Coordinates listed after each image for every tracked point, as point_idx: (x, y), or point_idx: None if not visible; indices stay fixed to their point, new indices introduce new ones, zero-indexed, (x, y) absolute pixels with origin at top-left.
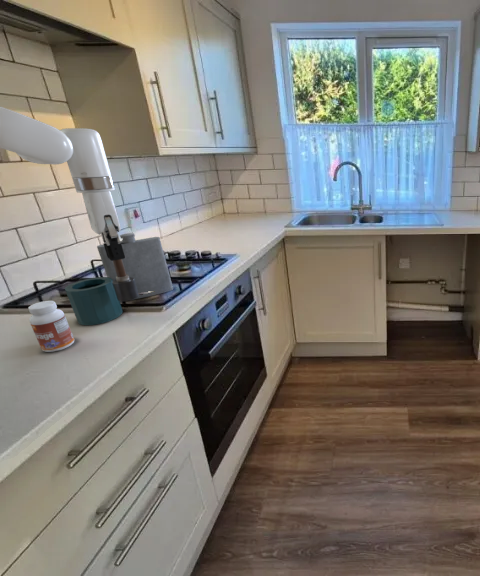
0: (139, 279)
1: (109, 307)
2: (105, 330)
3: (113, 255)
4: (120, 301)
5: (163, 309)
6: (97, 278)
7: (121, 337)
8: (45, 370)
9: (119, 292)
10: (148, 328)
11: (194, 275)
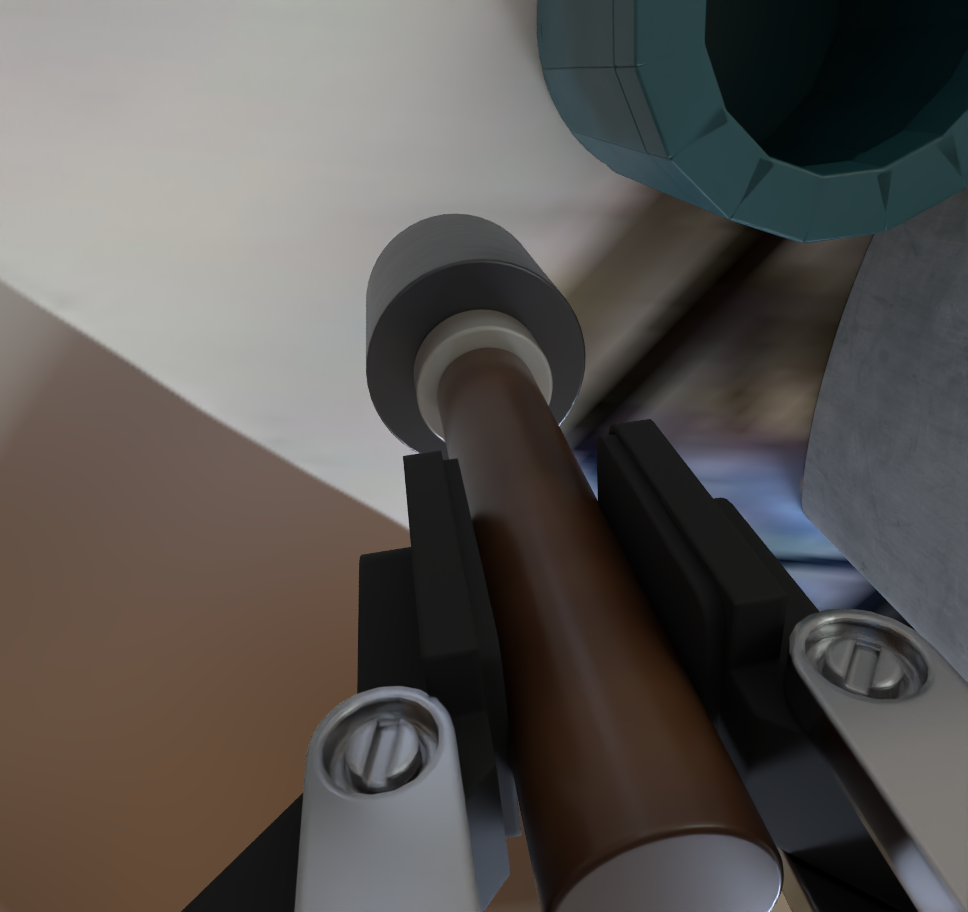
0: (927, 412)
1: (581, 110)
2: (360, 24)
3: (360, 568)
4: None
5: None
6: None
7: (133, 126)
8: None
9: (389, 270)
10: (195, 312)
11: None
